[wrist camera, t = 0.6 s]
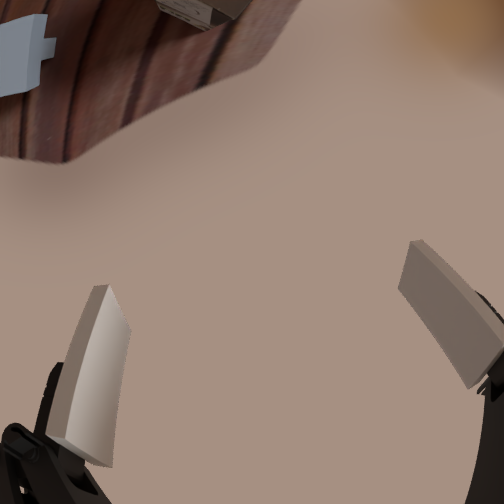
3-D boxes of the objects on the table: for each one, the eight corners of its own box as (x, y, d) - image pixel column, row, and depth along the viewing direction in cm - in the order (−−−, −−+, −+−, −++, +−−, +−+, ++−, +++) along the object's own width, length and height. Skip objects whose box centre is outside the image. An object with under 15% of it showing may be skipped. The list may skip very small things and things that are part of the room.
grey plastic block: (-3, 33, 12) (-36, 40, 7) (62, 15, 15) (34, 14, 10) (-8, 90, 17) (-39, 108, 12) (54, 78, 20) (26, 91, 15)
